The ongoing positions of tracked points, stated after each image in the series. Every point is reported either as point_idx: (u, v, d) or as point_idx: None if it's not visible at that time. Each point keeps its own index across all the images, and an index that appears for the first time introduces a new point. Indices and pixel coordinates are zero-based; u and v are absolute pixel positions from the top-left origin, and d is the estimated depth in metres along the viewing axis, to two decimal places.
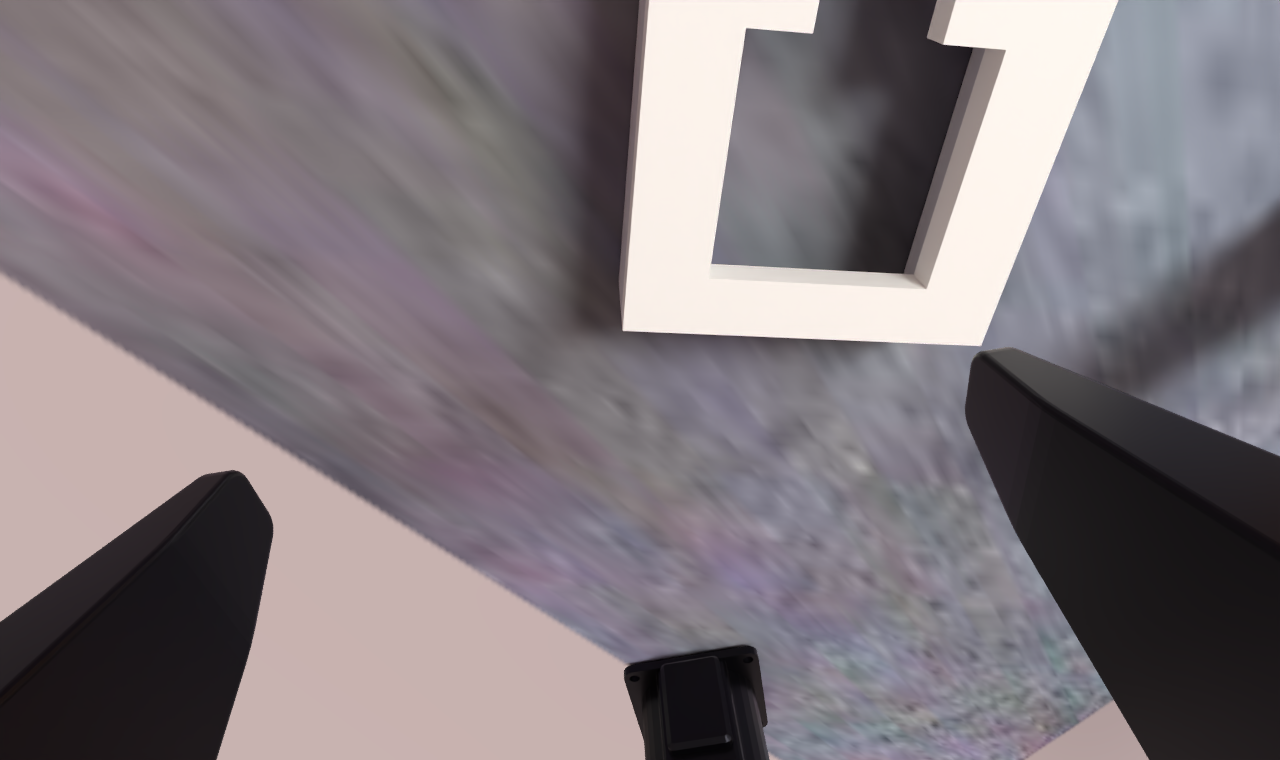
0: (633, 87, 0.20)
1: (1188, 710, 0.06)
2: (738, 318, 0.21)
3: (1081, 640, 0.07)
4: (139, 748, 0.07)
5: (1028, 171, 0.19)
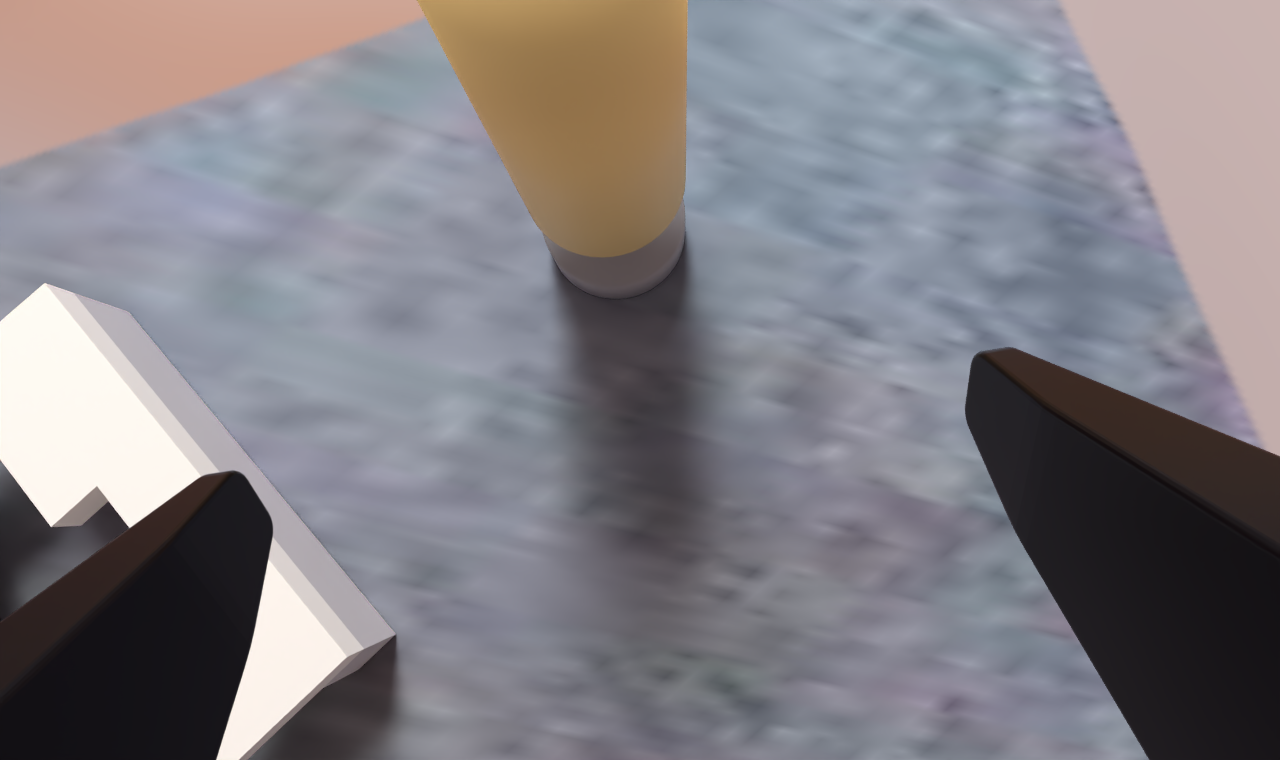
0: None
1: (1188, 710, 0.06)
2: None
3: (1080, 639, 0.07)
4: (139, 748, 0.07)
5: None
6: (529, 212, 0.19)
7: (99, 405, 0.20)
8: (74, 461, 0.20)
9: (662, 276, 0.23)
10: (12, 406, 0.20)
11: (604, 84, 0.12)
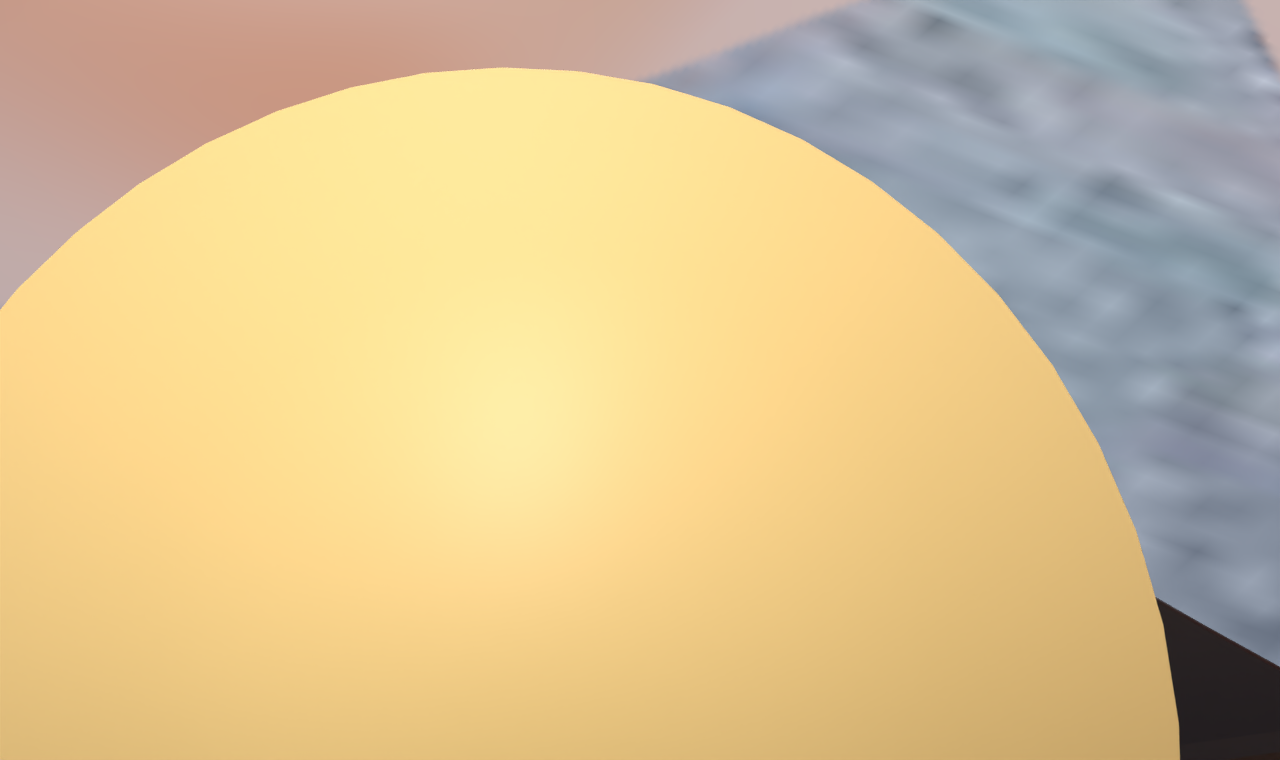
0: None
1: None
2: None
3: None
4: None
5: None
6: None
7: None
8: None
9: None
10: None
11: None
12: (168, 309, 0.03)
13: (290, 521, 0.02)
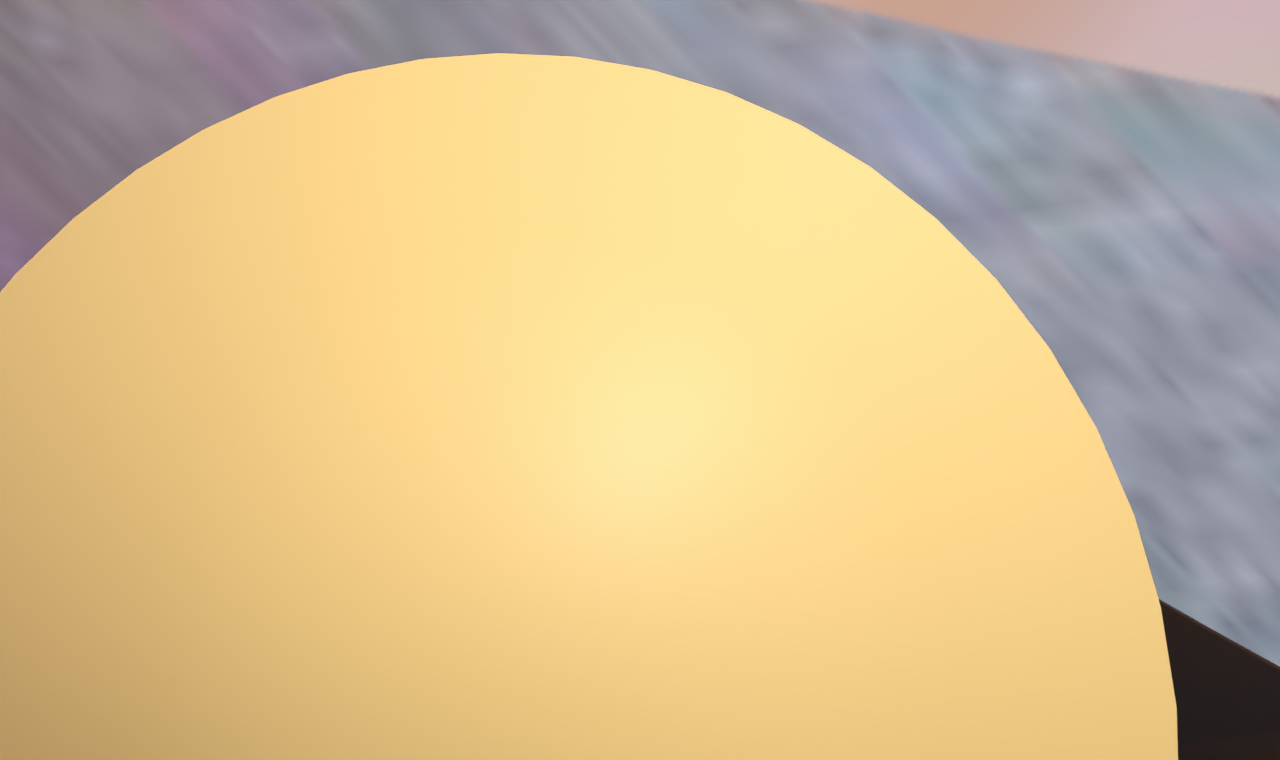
0: None
1: None
2: None
3: None
4: None
5: None
6: None
7: None
8: None
9: None
10: None
11: None
12: (166, 295, 0.03)
13: (288, 507, 0.02)
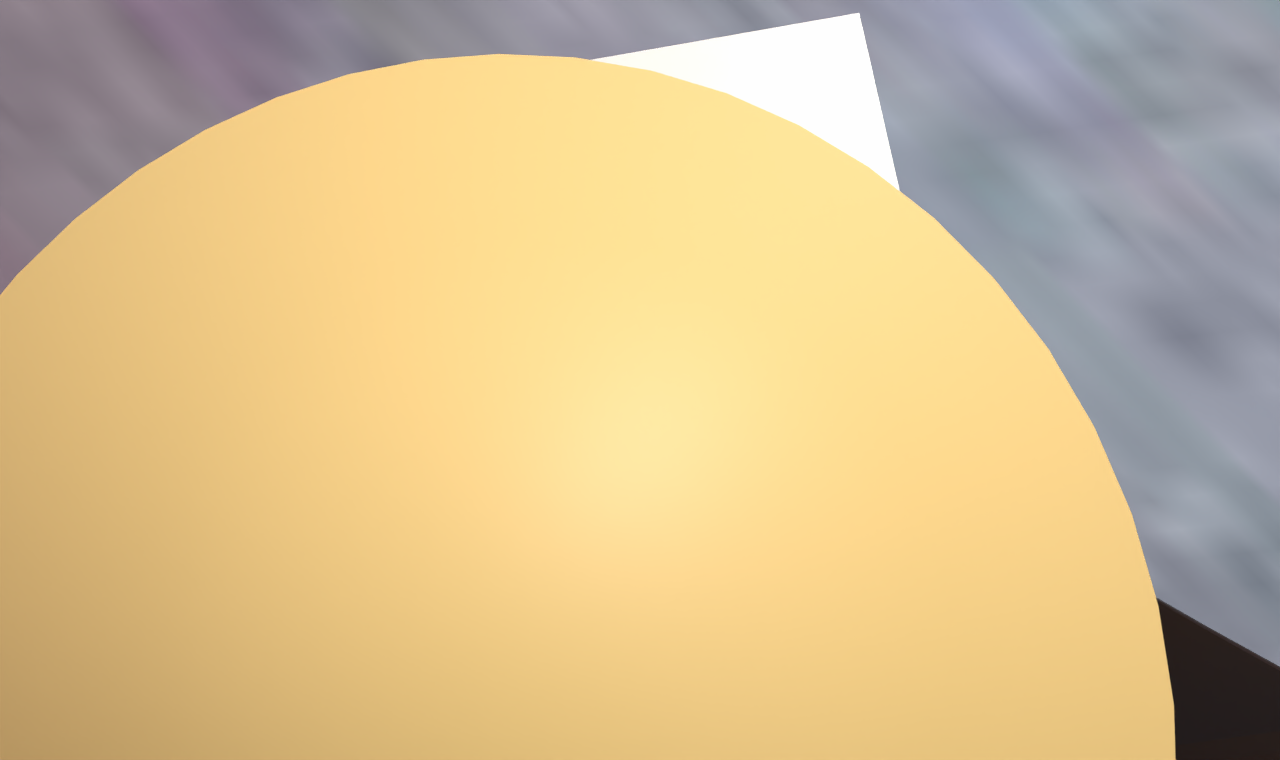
0: None
1: None
2: None
3: None
4: None
5: None
6: None
7: None
8: None
9: None
10: None
11: None
12: (167, 295, 0.03)
13: (289, 506, 0.02)
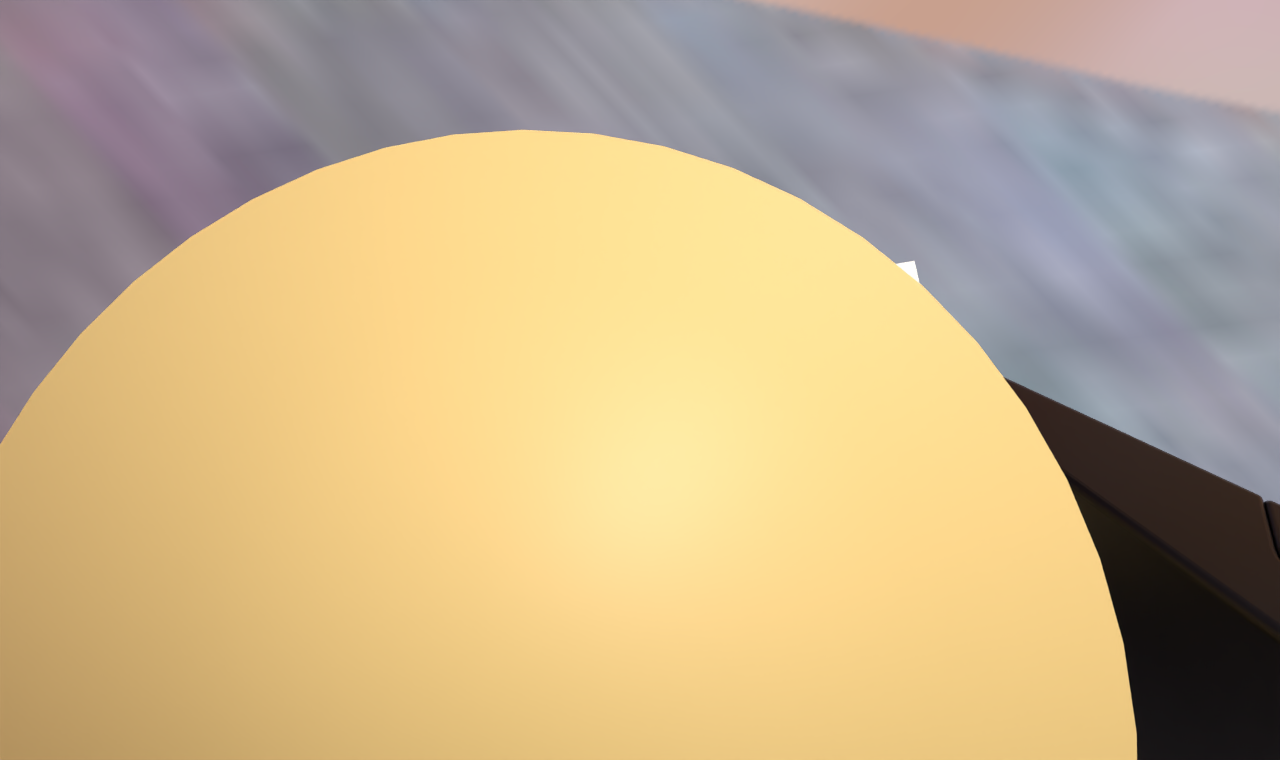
0: None
1: None
2: None
3: None
4: None
5: None
6: None
7: None
8: None
9: None
10: None
11: None
12: (219, 353, 0.03)
13: (335, 549, 0.03)
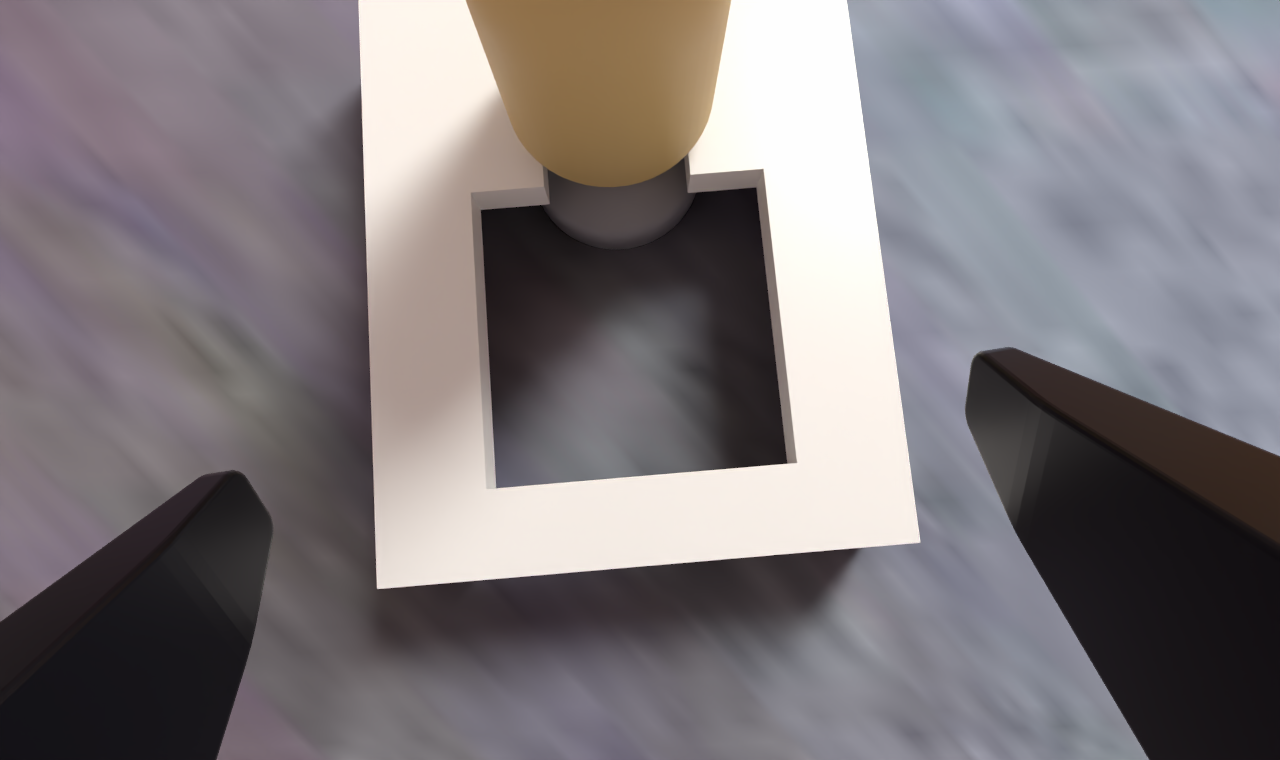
0: None
1: (1188, 710, 0.06)
2: (541, 545, 0.15)
3: (1080, 640, 0.07)
4: (139, 748, 0.07)
5: (857, 288, 0.15)
6: (510, 120, 0.15)
7: (816, 88, 0.16)
8: (755, 126, 0.16)
9: (669, 225, 0.18)
10: None
11: None
12: None
13: None
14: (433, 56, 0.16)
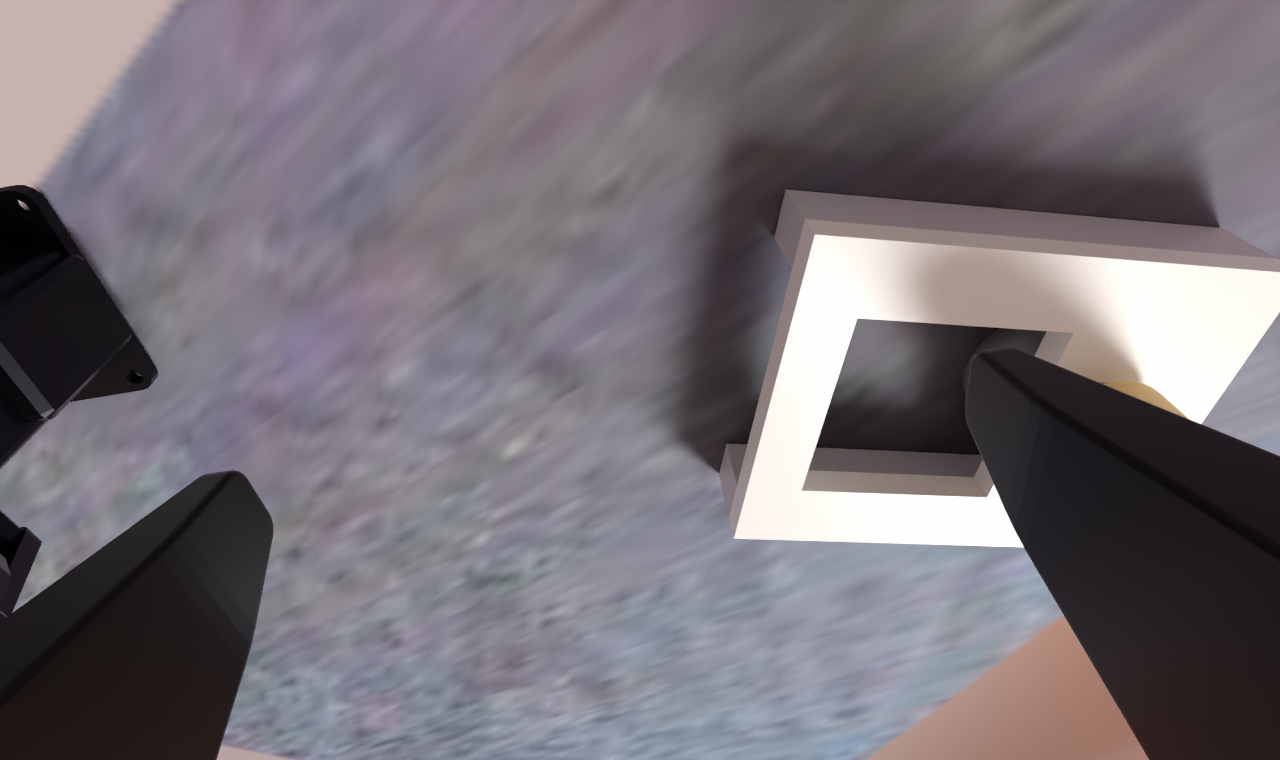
0: (986, 209, 0.21)
1: (1188, 710, 0.06)
2: (805, 348, 0.20)
3: (1080, 640, 0.07)
4: (139, 748, 0.07)
5: (890, 531, 0.25)
6: None
7: None
8: None
9: None
10: None
11: None
12: None
13: None
14: (1190, 320, 0.20)
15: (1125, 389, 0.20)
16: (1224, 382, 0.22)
